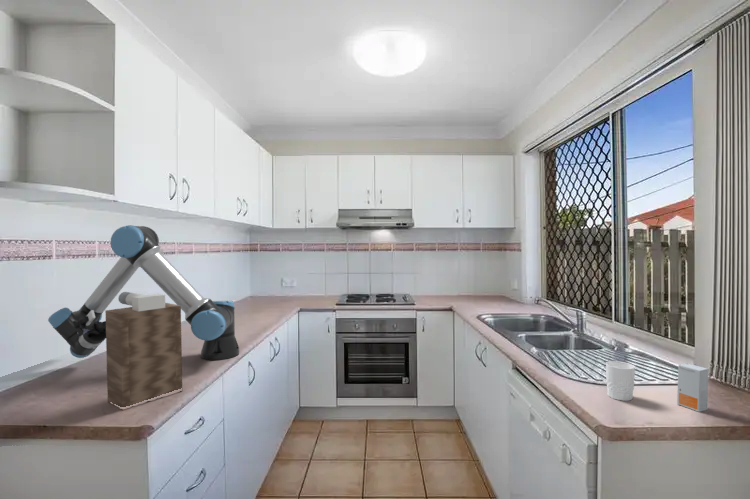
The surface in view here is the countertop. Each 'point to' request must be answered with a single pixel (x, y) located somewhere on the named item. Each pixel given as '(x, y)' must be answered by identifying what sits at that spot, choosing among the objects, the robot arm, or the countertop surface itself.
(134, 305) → the knob
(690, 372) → the skincare box
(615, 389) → the white cup
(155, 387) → the open wooden box
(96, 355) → the countertop surface
